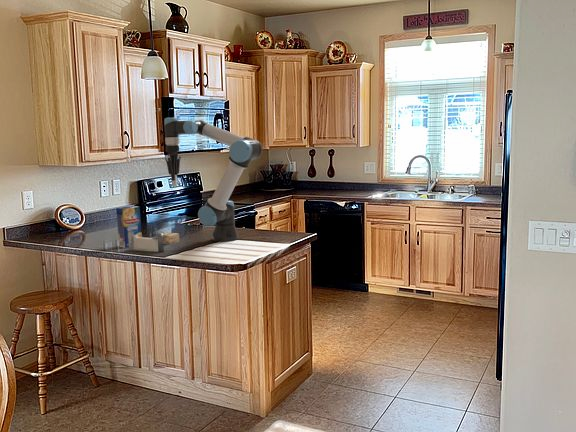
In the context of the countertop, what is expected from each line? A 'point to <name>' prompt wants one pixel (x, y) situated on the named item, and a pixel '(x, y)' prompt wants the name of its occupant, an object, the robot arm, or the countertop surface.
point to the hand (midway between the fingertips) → (174, 186)
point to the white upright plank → (145, 243)
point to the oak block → (170, 238)
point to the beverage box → (128, 223)
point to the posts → (160, 244)
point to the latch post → (131, 240)
